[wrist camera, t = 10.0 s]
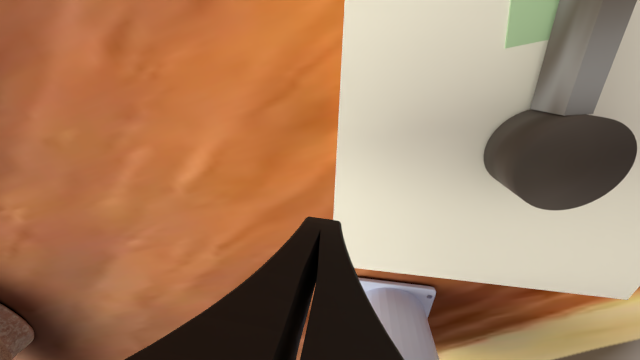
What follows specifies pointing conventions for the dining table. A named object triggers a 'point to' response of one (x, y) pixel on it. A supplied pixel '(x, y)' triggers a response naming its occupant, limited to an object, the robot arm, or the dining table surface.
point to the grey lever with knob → (568, 115)
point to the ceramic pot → (13, 334)
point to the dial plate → (470, 149)
